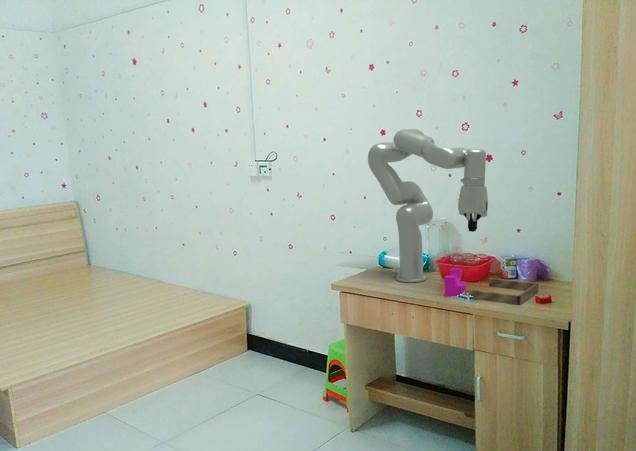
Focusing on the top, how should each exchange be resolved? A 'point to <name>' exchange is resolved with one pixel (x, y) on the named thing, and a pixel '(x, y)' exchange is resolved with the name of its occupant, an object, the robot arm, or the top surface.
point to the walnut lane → (507, 298)
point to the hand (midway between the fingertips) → (472, 230)
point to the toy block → (454, 283)
